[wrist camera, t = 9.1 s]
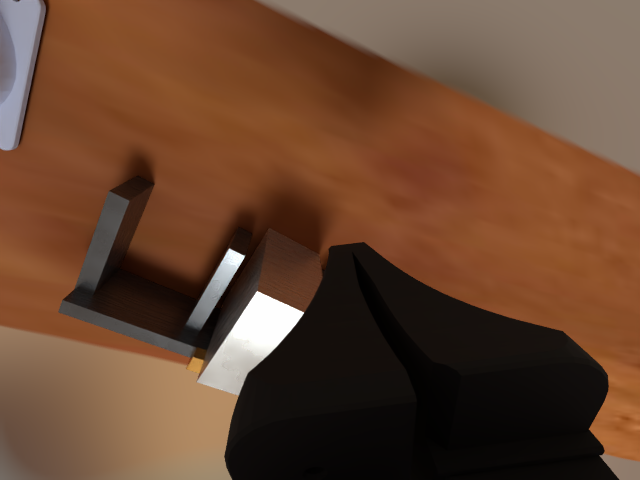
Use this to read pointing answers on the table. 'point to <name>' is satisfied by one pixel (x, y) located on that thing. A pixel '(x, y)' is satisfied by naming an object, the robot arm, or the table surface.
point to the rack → (146, 284)
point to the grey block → (260, 310)
